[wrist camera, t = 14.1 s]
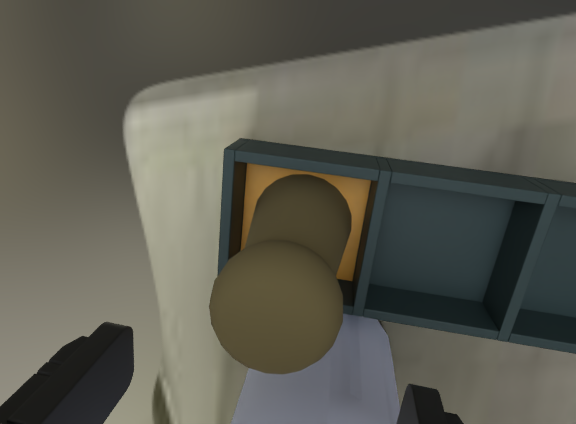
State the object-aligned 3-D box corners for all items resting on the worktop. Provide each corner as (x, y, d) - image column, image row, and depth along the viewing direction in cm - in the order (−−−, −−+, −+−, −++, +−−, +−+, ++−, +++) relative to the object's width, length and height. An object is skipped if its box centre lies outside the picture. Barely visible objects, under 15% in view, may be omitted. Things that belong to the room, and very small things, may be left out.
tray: (686, 197, 21) (745, 220, 18) (622, 330, 24) (663, 369, 21) (240, 137, 24) (223, 148, 20) (231, 265, 27) (216, 292, 23)
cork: (257, 166, 23) (187, 242, 13) (360, 181, 23) (370, 271, 13) (249, 258, 26) (184, 384, 15) (343, 273, 25) (340, 415, 15)
